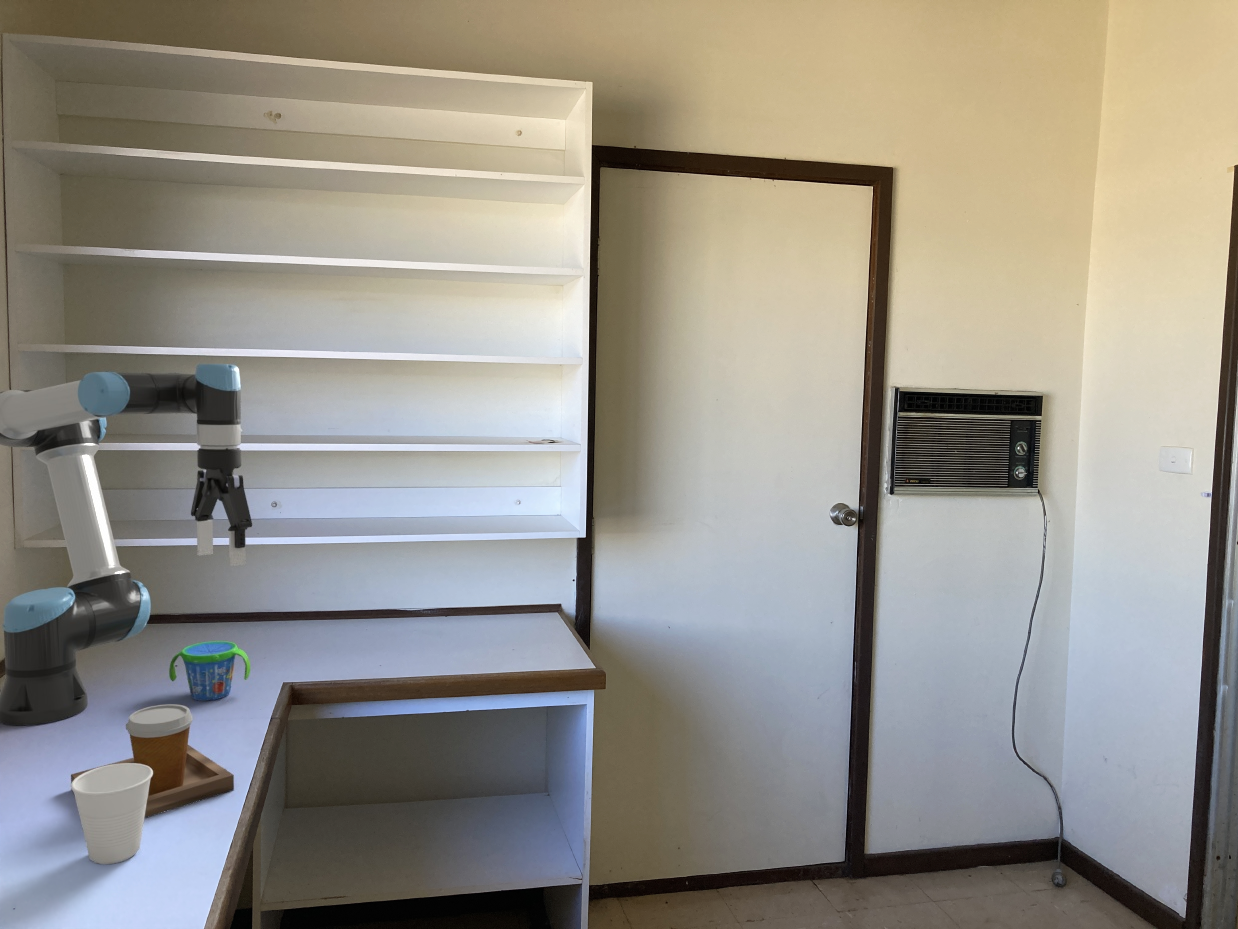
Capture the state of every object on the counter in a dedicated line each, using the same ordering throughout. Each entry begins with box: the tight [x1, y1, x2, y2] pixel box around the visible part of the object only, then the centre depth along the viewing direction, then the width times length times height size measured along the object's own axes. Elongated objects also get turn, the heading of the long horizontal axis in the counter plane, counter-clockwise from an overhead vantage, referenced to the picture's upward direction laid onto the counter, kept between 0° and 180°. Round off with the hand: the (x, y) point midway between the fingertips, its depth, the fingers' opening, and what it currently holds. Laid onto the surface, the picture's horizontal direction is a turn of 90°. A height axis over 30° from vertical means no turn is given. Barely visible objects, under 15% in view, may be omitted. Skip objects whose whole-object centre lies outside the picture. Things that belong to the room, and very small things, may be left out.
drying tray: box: [70, 744, 235, 819], centre depth 147 cm, size 18×18×2 cm
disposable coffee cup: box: [125, 703, 194, 796], centre depth 145 cm, size 10×10×12 cm
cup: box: [70, 763, 153, 865], centre depth 127 cm, size 10×10×11 cm
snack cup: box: [168, 640, 251, 701], centre depth 190 cm, size 16×10×10 cm
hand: (221, 559), depth 173 cm, fingers open, 13 cm apart
